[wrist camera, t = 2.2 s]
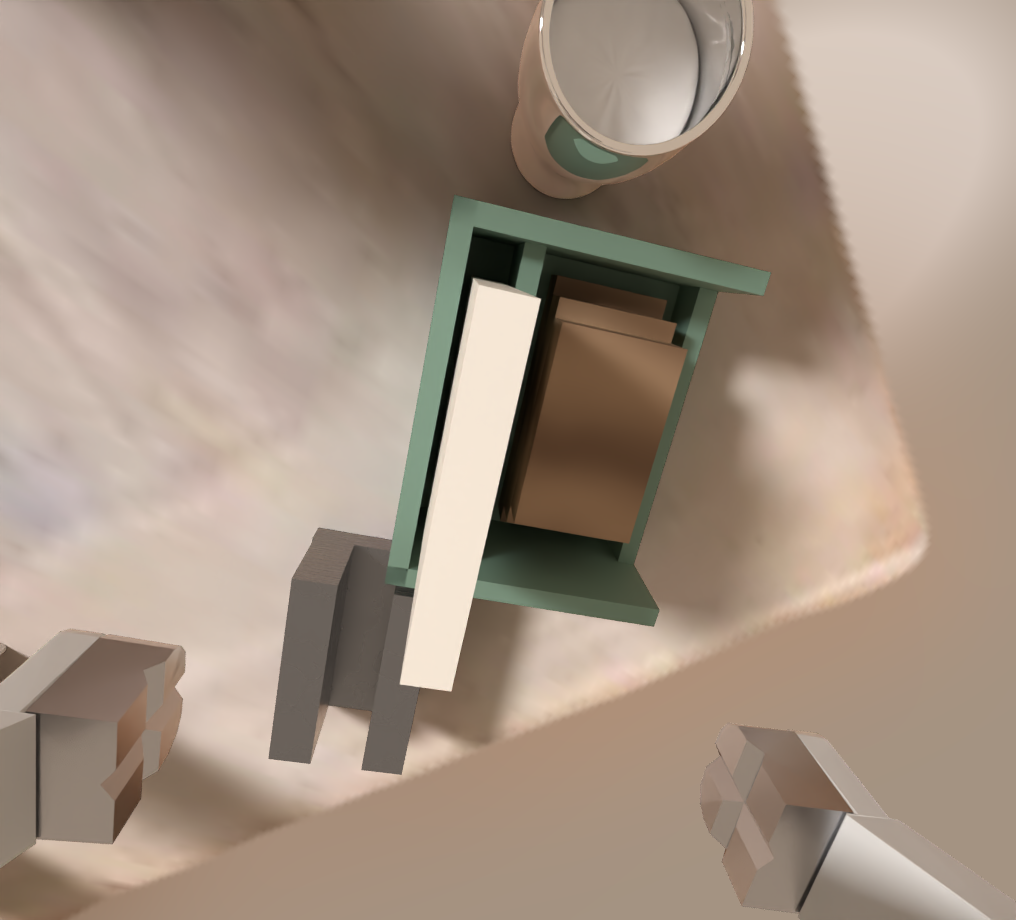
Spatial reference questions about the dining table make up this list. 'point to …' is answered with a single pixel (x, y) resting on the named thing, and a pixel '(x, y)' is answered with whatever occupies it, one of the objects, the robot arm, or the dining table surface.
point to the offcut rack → (527, 267)
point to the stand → (345, 650)
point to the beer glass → (622, 86)
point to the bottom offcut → (559, 288)
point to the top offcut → (595, 430)
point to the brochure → (2, 648)
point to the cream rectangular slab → (467, 475)
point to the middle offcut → (592, 317)
